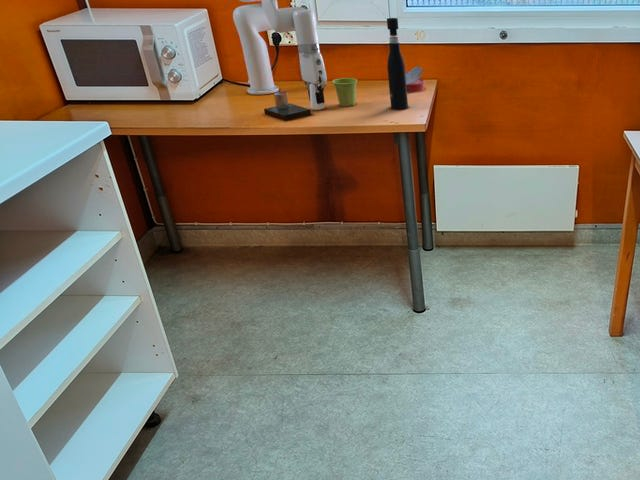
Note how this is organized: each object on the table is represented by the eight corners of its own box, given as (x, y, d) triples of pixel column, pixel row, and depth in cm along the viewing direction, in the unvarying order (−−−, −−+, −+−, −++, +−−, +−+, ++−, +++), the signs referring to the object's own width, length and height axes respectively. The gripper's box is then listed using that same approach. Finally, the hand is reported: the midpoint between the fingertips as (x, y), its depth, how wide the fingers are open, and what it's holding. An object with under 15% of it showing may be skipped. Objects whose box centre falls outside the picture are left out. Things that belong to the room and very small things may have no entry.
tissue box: (423, 102, 265) (423, 82, 256) (399, 99, 265) (398, 79, 256) (425, 83, 270) (425, 63, 261) (402, 81, 270) (401, 60, 261)
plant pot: (362, 101, 249) (360, 78, 244) (356, 107, 242) (353, 83, 237) (339, 101, 250) (336, 77, 245) (332, 107, 242) (329, 83, 237)
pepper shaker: (318, 110, 238) (313, 78, 231) (307, 108, 240) (302, 77, 234) (328, 107, 241) (323, 76, 235) (317, 105, 244) (313, 74, 237)
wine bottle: (410, 106, 242) (404, 17, 225) (403, 110, 237) (396, 20, 220) (395, 105, 244) (387, 17, 227) (388, 109, 239) (379, 19, 222)
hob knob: (280, 109, 233) (277, 94, 230) (274, 107, 236) (271, 92, 232) (290, 107, 235) (288, 92, 232) (284, 105, 238) (281, 90, 235)
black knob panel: (264, 114, 236) (263, 108, 235) (290, 108, 242) (289, 102, 241) (285, 121, 228) (284, 115, 227) (311, 115, 234) (310, 108, 233)
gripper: (331, 49, 226) (338, 103, 237) (304, 44, 236) (313, 96, 246) (313, 53, 222) (321, 107, 232) (287, 47, 231) (296, 100, 242)
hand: (317, 101), depth 239 cm, fingers closed on pepper shaker, 3 cm apart
